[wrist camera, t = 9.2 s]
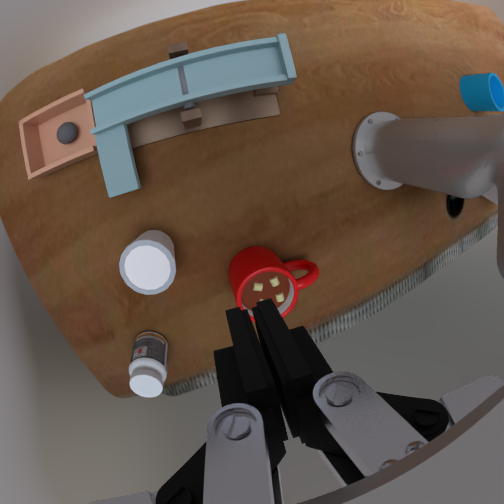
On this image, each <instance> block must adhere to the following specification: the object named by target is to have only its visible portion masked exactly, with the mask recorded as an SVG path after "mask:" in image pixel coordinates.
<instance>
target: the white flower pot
mask: <svg viewBox="0 0 504 504" xmlns="http://www.w3.org/2000/svg"><path fill="white" fill-rule="evenodd" d="M482 196H484V197H485V198H487V199H489V200H490V201H492V202H493V203H495V204H496V205H498V195H497V187H496V185H494V186H493V187H492V188H491V189H490V190H489V191H487V192H486V193H485V194H483V195H482Z"/></svg>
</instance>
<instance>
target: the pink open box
mask: <svg viewBox="0 0 504 504" xmlns="http://www.w3.org/2000/svg"><path fill="white" fill-rule="evenodd" d="M88 92H89V91H87V90H85V89H80V90H78V91H76V92H74V93H71V94H69V95H67V96H65V97H63V98H61V99H59V100H57V101H55V102H53V103H51V104H49V105H47V106H45V107H43V108H41V109H39V110H38V111H36V112H34V113H32V114H31V115H29V116H27V117H25V118H24V119H22V120H20V121H19V127H20V135H21V142H22V148H23V154H24V160H25V165H26V170H27V174H28V179H34V178H39V177H44V176H47V175H49V174H52V173H54V172H56V171H58V170H60V169H63V168H65V167H67V166H70V165H72V164H74V163H77V162H79V161H82V160H84V159H87V158H89V157H92V156H94V155H97V154H98V150H97V145H96V140H95V136H96V135H91V134H90V129H93V128H95V127H96V123H95V117H94V111H93V105H92V101H91V100H86V99H85V98H84V94H86V93H88ZM65 122H72V123H74V124H75V125H76V127H77V130H78V133H77V137H76V138H75V140H74V141H73V142H72V143H70V144H62V143H60V142H59V141H58V139H57V130H58V128H59V127H60V125H62V124H63V123H65Z"/></svg>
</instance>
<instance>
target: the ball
mask: <svg viewBox="0 0 504 504" xmlns="http://www.w3.org/2000/svg"><path fill="white" fill-rule="evenodd" d="M77 133H78V130H77V127H76V125H75V124H74V123H72V122H65V123H63V124H62V125H60V127H59V128H58V130H57V139H58V141H59V142H60V143H62V144H70V143H72V142H73V141H74V140H75V138H76V137H77Z"/></svg>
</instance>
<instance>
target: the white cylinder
mask: <svg viewBox="0 0 504 504" xmlns="http://www.w3.org/2000/svg"><path fill="white" fill-rule="evenodd" d="M119 267H120V272H121V276H122V278H123V279H124V281H125V283H126V284H127V285H128V286H129V287H130V288H132V289H133V290H134V291H136V292H139V293H142V294H145V295H150V294H158V293H160V292H162V291H164V290H166V289H167V288H168V287H169V286H170V285H171V283H172V282H173V280H174V277H175V273H176V265H175V253H174V244H173V242H172V240H171V238H170V237H169V236H168V235H167V234H165V233H164V232H162V231H159V230H148V231H146V232H144V233H143V234H141V235H140V236H139V237H138V238H136V239H135V240H134V241H133V242H132V243H131V244H130V245H128V246H127V248H126V249H125V250H124V252H123V253H122V255H121V259H120V263H119Z"/></svg>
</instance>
